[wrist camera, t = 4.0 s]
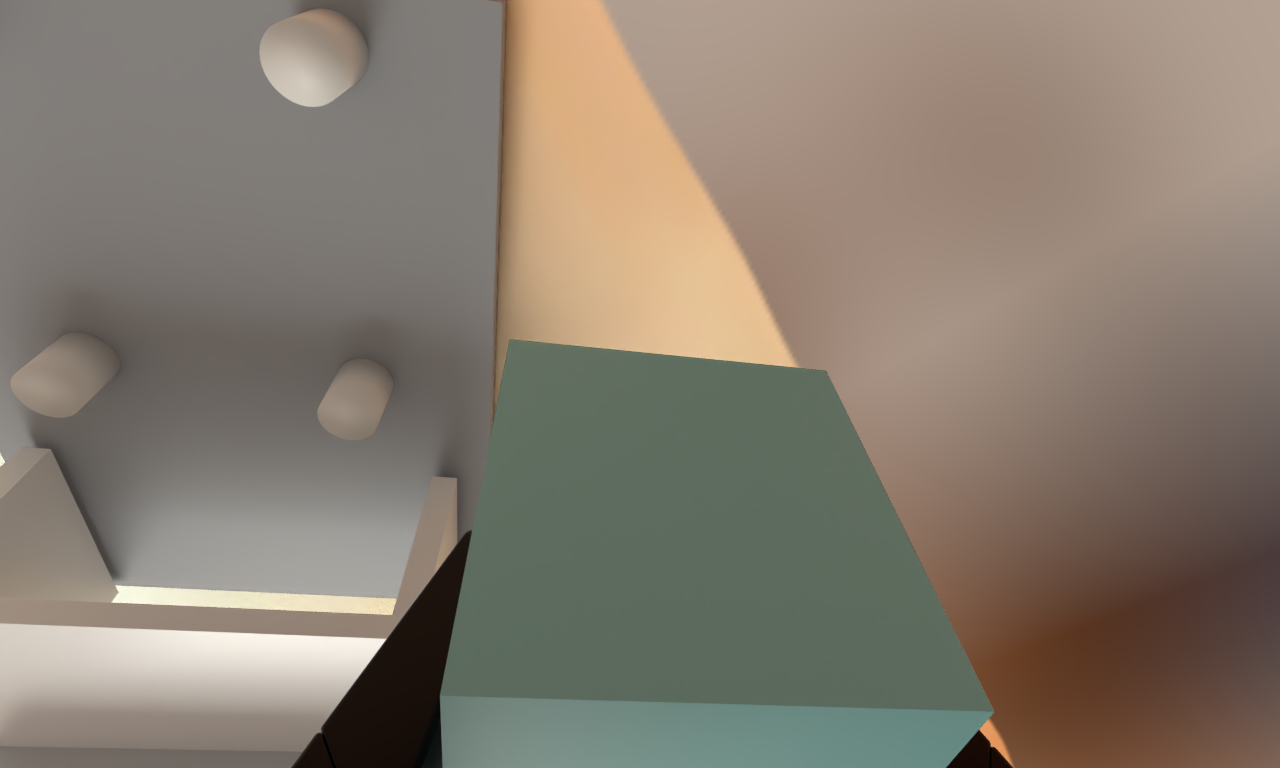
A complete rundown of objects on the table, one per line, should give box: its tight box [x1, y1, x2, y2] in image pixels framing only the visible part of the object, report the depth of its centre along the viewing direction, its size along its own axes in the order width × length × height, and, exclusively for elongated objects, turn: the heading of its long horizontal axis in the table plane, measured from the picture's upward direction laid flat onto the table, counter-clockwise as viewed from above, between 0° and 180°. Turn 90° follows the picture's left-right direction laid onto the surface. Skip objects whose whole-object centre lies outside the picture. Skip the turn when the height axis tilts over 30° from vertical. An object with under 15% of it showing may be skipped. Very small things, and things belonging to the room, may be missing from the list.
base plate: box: [0, 0, 506, 599], centre depth 19 cm, size 15×21×3 cm
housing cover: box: [0, 447, 458, 768], centre depth 20 cm, size 13×7×9 cm, turn 81°
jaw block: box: [440, 339, 994, 768], centre depth 9 cm, size 4×6×5 cm
